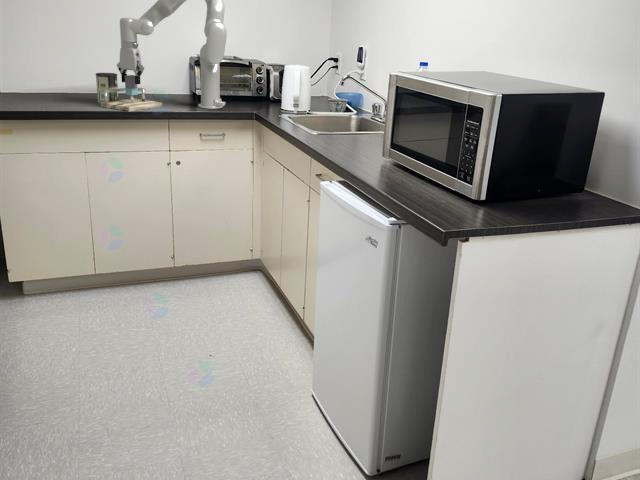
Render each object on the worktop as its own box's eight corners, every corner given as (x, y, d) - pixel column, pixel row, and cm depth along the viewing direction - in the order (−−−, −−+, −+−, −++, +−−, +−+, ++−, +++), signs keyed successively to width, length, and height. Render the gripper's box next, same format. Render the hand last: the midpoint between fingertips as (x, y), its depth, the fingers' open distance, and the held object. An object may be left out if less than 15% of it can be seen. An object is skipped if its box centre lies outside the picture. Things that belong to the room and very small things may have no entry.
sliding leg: (138, 101, 291) (137, 75, 286) (131, 102, 287) (130, 76, 282) (132, 100, 292) (131, 74, 288) (125, 101, 288) (123, 75, 284)
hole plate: (162, 106, 297) (162, 102, 296) (129, 111, 277) (129, 107, 276) (134, 102, 304) (134, 98, 303) (101, 106, 284) (100, 102, 284)
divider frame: (146, 101, 297) (145, 88, 295) (116, 105, 280) (116, 91, 278) (134, 99, 300) (133, 86, 298) (104, 103, 283) (103, 90, 281)
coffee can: (118, 100, 306) (116, 72, 301) (119, 103, 297) (117, 75, 292) (97, 100, 302) (95, 72, 297) (97, 103, 293) (95, 74, 288)
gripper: (148, 46, 280) (150, 84, 286) (121, 43, 287) (123, 80, 293) (137, 47, 273) (139, 85, 280) (109, 44, 280) (112, 81, 287)
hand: (131, 82), depth 286 cm, fingers open, 7 cm apart
